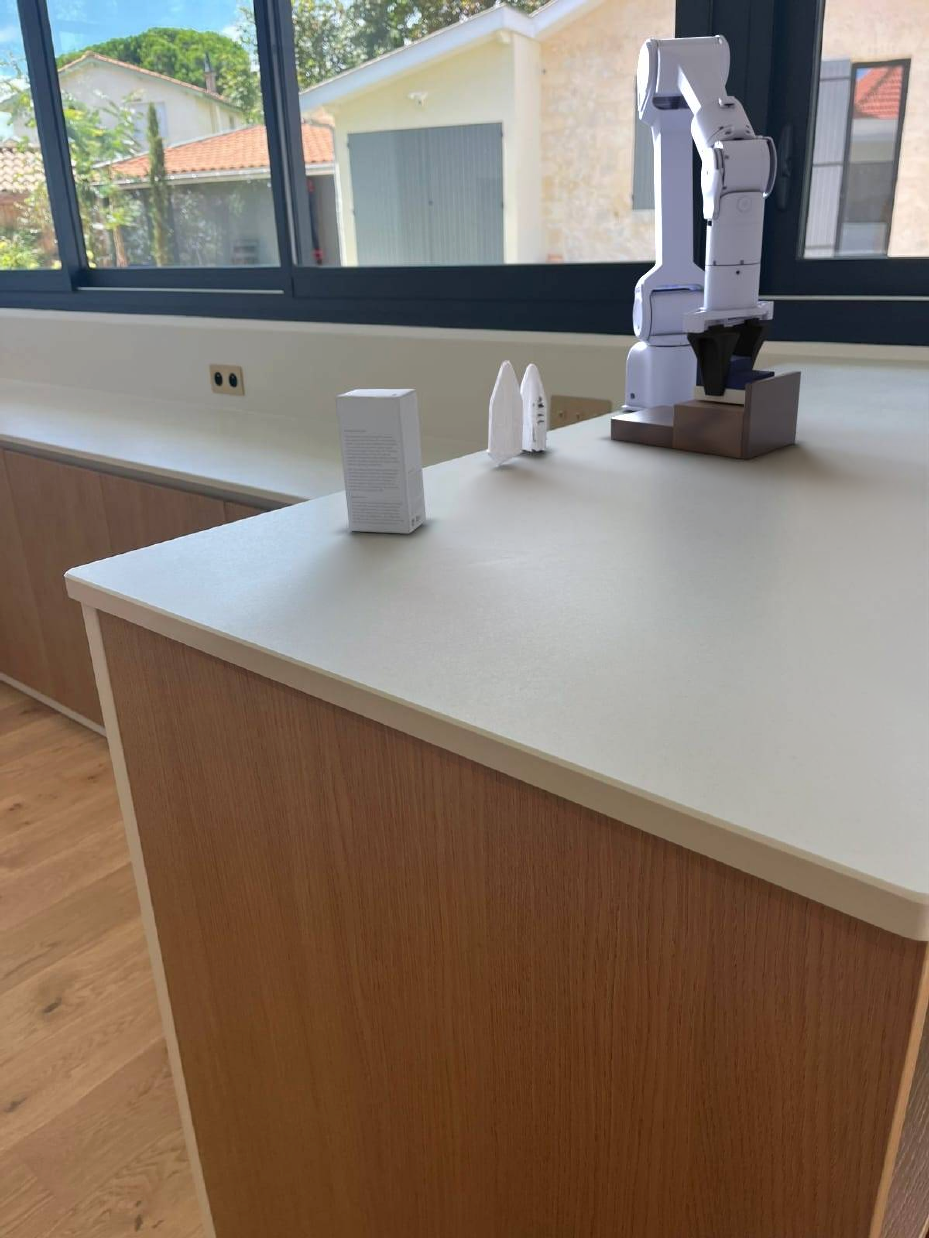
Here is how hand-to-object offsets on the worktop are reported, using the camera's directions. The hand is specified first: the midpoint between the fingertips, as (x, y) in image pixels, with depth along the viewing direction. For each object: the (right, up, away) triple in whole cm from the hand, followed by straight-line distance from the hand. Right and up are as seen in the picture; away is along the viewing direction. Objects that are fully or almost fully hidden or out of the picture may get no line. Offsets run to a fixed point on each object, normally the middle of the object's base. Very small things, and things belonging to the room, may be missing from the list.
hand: (725, 392), depth 107 cm
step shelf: (-2, -5, +5) cm, 7 cm away
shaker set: (-23, -8, +1) cm, 25 cm away
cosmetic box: (-36, -17, -21) cm, 46 cm away
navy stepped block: (+1, -1, 0) cm, 1 cm away
